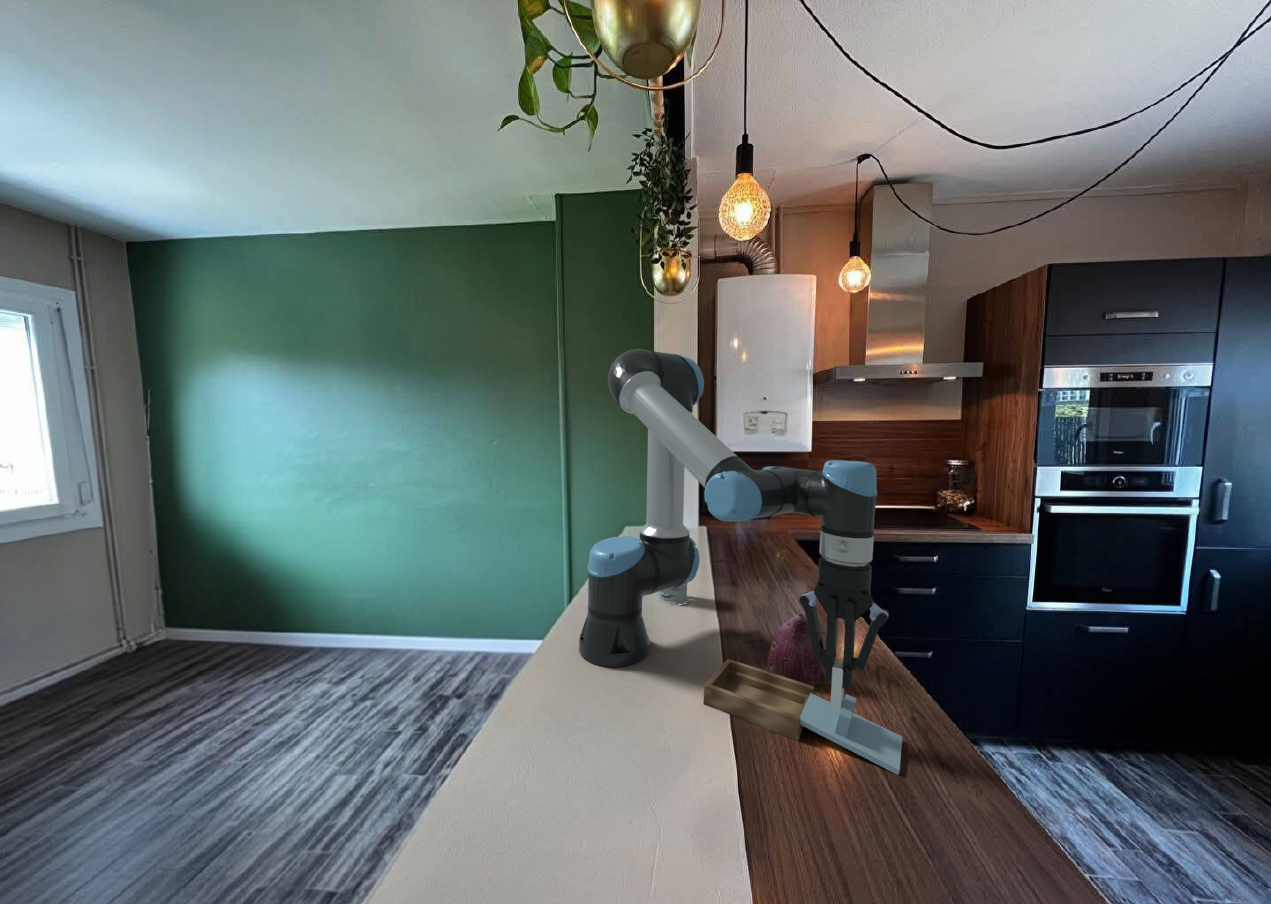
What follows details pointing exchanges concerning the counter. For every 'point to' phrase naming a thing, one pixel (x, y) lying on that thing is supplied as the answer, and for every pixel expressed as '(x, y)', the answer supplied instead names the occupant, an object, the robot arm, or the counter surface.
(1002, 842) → the counter surface
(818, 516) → the robot arm
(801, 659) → the vegetable
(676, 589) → the french press
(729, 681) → the pencil box
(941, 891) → the counter surface
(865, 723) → the lid
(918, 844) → the counter surface
